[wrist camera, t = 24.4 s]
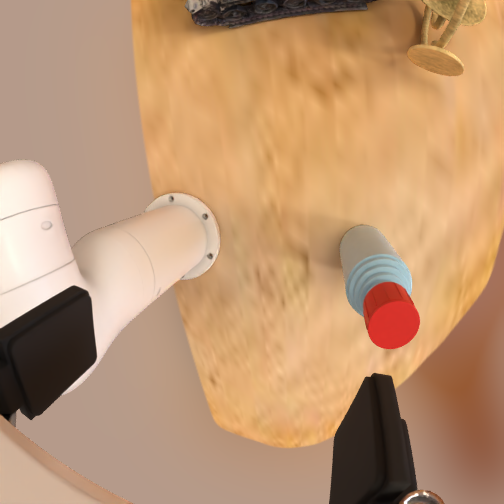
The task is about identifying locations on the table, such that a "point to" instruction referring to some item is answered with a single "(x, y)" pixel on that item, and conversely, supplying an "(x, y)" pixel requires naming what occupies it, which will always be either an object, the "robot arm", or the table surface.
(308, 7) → the tank
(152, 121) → the table surface
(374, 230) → the bottle
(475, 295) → the table surface
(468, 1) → the wall sconce
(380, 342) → the cap
